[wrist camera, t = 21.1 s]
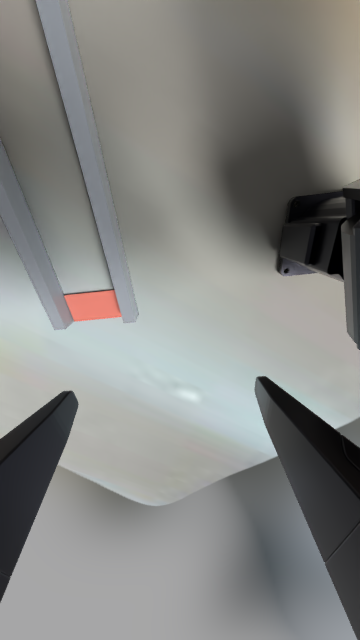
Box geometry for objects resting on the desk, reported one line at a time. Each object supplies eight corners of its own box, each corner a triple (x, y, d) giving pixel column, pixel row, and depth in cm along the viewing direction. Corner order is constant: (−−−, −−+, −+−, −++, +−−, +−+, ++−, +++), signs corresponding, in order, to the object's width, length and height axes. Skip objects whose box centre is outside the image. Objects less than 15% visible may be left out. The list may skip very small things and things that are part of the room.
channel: (43, -106, 10) (17, -170, 8) (138, 314, 21) (135, 322, 19) (-110, -77, 10) (-165, -134, 8) (63, 321, 21) (54, 329, 19)
